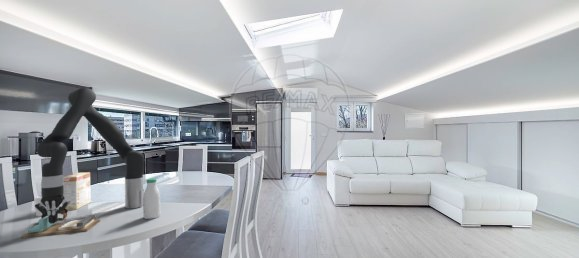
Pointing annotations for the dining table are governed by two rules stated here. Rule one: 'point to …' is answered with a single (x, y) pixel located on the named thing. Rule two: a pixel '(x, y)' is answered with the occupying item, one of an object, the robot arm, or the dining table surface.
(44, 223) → the stub
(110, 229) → the dining table surface
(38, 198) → the white cup
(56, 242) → the dining table surface
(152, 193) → the milk bottle
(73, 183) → the coffeecake box
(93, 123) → the robot arm
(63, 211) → the pottery mug
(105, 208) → the dining table surface
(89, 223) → the ticket holder
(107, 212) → the dining table surface
